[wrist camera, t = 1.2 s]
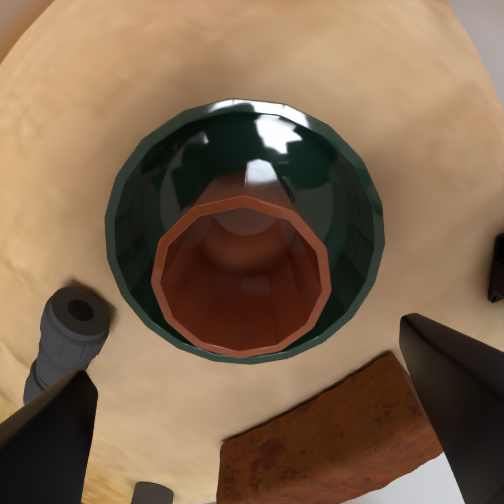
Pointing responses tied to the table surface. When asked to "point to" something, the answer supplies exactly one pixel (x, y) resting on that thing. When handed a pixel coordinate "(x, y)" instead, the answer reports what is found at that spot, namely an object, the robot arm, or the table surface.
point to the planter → (261, 159)
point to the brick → (333, 444)
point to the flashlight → (67, 337)
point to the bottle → (151, 494)
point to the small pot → (242, 267)
